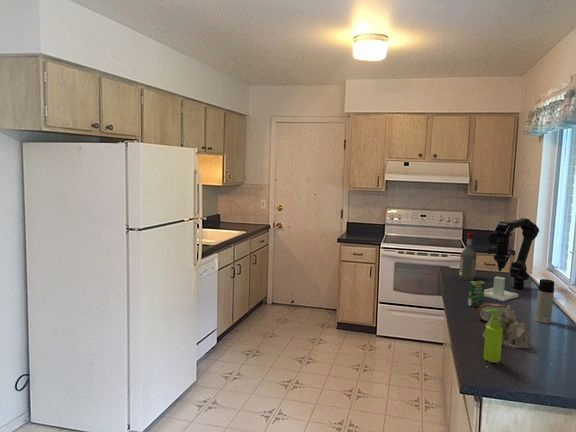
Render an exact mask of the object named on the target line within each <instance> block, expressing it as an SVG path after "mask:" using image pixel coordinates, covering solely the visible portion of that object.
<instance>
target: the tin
mask: <svg viewBox="0 0 576 432" xmlns="http://www.w3.org/2000/svg"><path fill="white" fill-rule="evenodd" d="M506 307H507V304H502V303H491V302H490V303H489V302H487V303H486V302H485V303H483V304H482V305H480V306H477V309H476V313H477V316H478V318H479V319H480V320H482V321H484V322H488V321H489V320H490V318H491V315H492V312H489V313H487V312H486V311H485V310H487V309H498V310H500V311H501V312H498V317H500V318H501V315H502V313H503V311H505V310H506Z"/></svg>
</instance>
